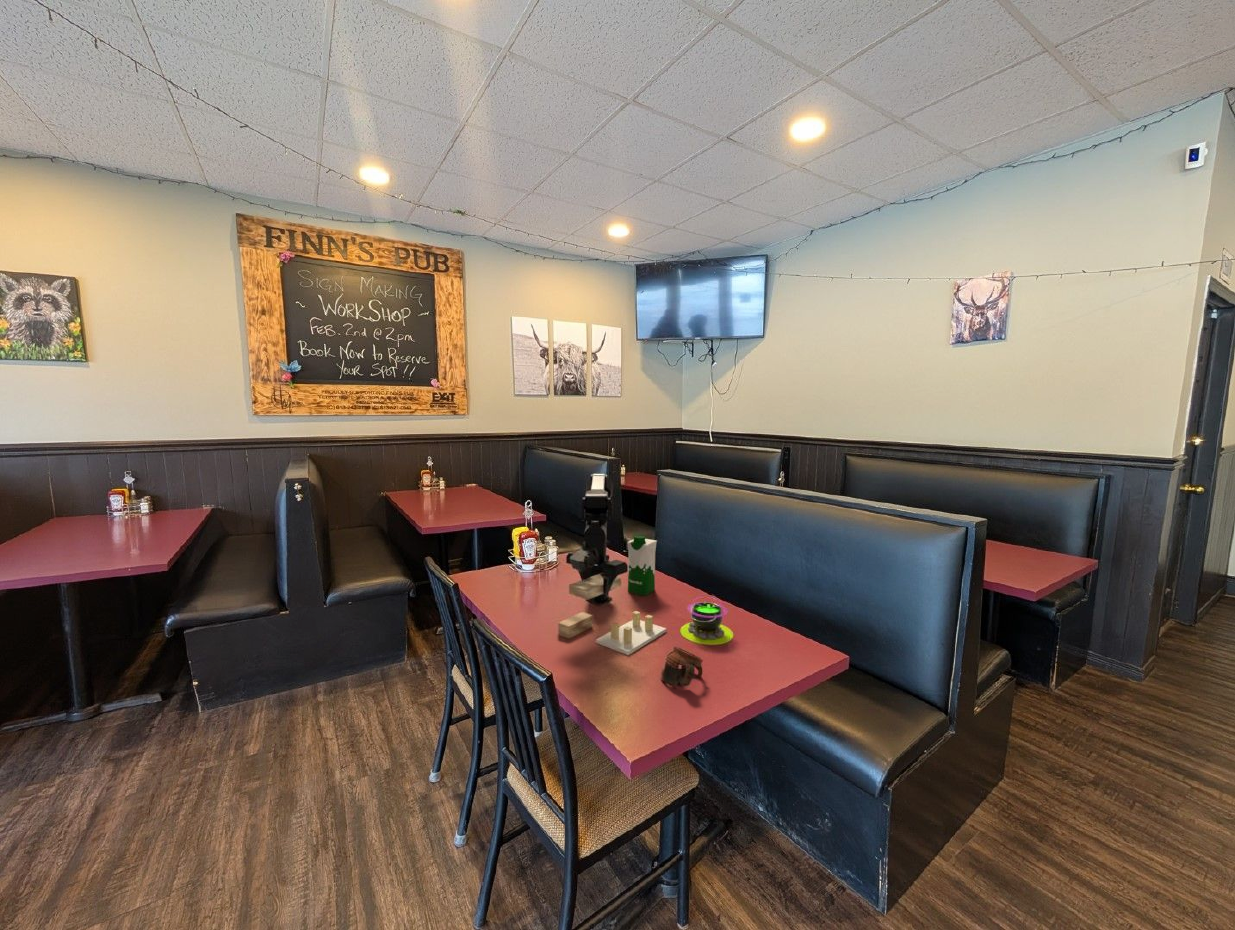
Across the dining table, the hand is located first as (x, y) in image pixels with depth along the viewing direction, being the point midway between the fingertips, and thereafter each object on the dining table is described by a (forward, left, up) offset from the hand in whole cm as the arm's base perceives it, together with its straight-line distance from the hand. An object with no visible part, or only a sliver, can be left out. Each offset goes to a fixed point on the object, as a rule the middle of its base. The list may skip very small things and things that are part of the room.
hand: (595, 592), depth 142 cm
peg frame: (-5, +9, -12) cm, 16 cm away
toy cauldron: (-21, +24, -13) cm, 34 cm away
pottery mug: (+6, +32, -12) cm, 35 cm away
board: (0, 0, +1) cm, 1 cm away
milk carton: (-36, -10, -12) cm, 39 cm away
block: (+2, -6, -12) cm, 14 cm away
